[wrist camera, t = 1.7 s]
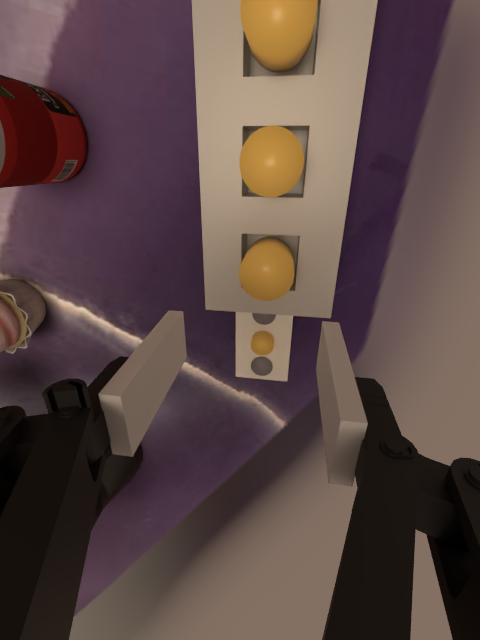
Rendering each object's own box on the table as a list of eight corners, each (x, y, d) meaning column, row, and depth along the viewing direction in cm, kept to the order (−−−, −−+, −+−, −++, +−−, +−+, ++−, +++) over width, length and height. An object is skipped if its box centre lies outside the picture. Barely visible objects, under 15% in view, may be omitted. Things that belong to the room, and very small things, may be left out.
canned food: (87, 96, 29) (-16, 62, 20) (92, 188, 33) (7, 199, 23) (9, 82, 30) (-130, 43, 20) (22, 175, 33) (-89, 180, 24)
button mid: (299, 193, 26) (300, 198, 22) (246, 192, 27) (239, 196, 23) (305, 130, 24) (307, 125, 21) (247, 131, 25) (239, 125, 21)
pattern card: (287, 378, 40) (287, 387, 38) (236, 373, 40) (234, 382, 39) (294, 296, 35) (294, 302, 33) (236, 292, 36) (233, 298, 34)
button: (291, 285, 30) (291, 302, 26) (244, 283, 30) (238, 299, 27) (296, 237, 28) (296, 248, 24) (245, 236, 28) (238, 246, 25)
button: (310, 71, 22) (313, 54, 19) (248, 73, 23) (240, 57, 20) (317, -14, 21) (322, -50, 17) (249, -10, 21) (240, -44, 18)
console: (325, 298, 34) (330, 318, 30) (216, 291, 36) (205, 309, 31) (371, -39, 23) (390, -88, 18) (207, -28, 24) (188, -70, 20)
